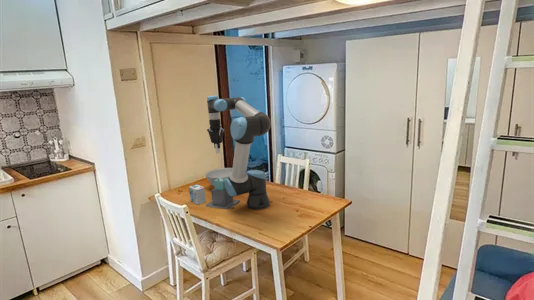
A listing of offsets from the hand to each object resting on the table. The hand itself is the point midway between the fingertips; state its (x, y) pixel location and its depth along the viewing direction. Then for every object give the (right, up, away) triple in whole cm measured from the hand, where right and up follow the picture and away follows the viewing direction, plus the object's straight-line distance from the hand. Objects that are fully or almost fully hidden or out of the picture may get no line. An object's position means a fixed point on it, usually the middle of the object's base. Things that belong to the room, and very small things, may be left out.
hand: (217, 152), depth 229 cm
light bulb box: (-14, -34, +2) cm, 37 cm away
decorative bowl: (+1, -27, +28) cm, 39 cm away
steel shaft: (+4, -33, -7) cm, 34 cm away
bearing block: (+5, -34, -6) cm, 35 cm away
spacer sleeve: (+4, -23, -9) cm, 25 cm away
